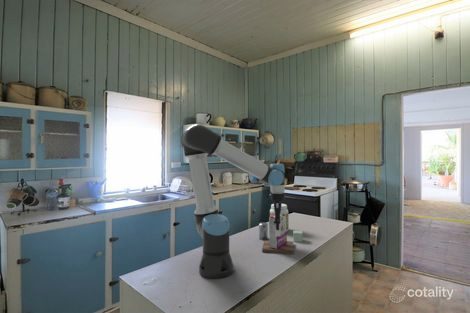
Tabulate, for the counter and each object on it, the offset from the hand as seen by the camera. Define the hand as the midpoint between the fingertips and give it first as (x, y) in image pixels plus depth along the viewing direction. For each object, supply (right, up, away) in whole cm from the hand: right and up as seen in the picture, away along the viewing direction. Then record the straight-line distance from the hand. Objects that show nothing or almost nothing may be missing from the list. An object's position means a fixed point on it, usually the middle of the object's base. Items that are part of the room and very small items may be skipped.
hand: (278, 231), depth 137 cm
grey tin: (-6, -9, +16) cm, 19 cm away
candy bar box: (0, -7, 0) cm, 7 cm away
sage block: (+14, -9, +12) cm, 20 cm away
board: (0, -9, 0) cm, 9 cm away
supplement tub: (+6, -9, +32) cm, 33 cm away
